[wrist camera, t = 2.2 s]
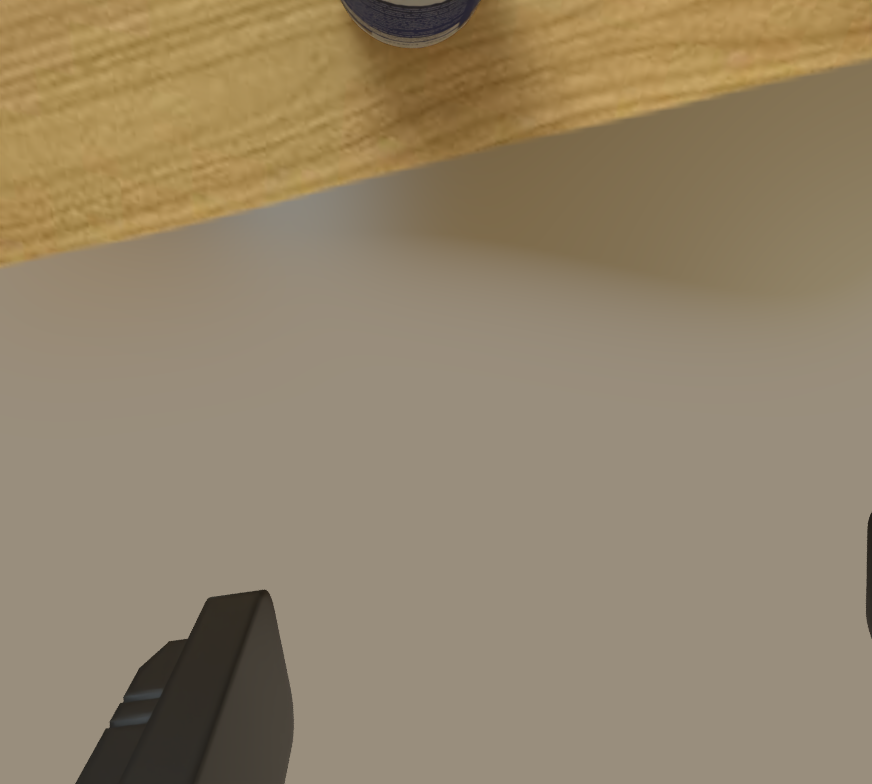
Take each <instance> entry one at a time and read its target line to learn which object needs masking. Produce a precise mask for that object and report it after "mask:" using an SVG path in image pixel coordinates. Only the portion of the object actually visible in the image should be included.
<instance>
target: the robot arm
mask: <svg viewBox="0 0 872 784" xmlns="http://www.w3.org/2000/svg"><path fill="white" fill-rule="evenodd" d="M867 533H868V534H867V589H866V592H867V593H866V617H867V624H868V628H869V632H870V634H871V638H872V513H871V515H870V517H869V521H868V531H867ZM123 698H124V702H123V703H120V704H119V706H118V708H117V710H116V711H115V714H114V715H113V717H112V719H111V720H110V728H107V729H105V731H104V733H103V735H102V737H101V739H100V740H99V742H98V744H97V746H96V747H95V749H94V751H93V753H92V755H91V756H90V758H89V760H88V762H87V764H86V765H85V767H84V769H83V771H82V773H81V775H80V776H79V778H78V780H77V782H76V783H75V784H284V783H285V778H286V773H287V768H288V763H289V757H290V752H291V747H292V742H293V730H294V719H293V718H294V717H293V702H292V694H291V689H290V684H289V679H288V674H287V669H286V664H285V659H284V654H283V650H282V645H281V640H280V635H279V630H278V625H277V620H276V615H275V610H274V606H273V602H272V599H271V596H270V594H269V593H268V591H267V590H259V591H252V592H245V593H238V594H230V595H223V596H216V597H210V598H208V599H207V601H206V602H205V605H204V607H203V609H202V611H201V613H200V615H199V617H198V619H197V621H196V623H195V625H194V627H193V629H192V631H191V633H190V636H189V638H188V639H183V640H176V641H169V642H168V643H167V644H166V645H165V646H164V647H163V648H161V649H160V651H158V652H157V653H156V654H155V655H154V656H153V657H151V658H150V659H149V660H148V661H147V662H146V663H145V664H144V665H143V666H141V667H140V668H139V670H138V672H137V674H136V675H135V677H134V679H133V681H132V683H131V684H130V686H129V688H128V690H127V692H126V693H125V695H124V697H123Z"/></svg>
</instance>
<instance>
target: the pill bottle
mask: <svg viewBox="0 0 872 784" xmlns="http://www.w3.org/2000/svg"><path fill="white" fill-rule="evenodd" d="M480 1H481V0H341V2H342V4H343V6H344V7H345V9H346V11H347V12H348V14H349V15H350V17H351V18H352V19H353V20H354V22H355V23H356V24H357V25H358V26H359V27H360V28H361V29H362V30H364V31H365V32H366V33H368V34H369V35H370V36H372V37H374V38H375V39H377V40H379V41H381V42H383V43H386V44H389V45H393V46H397V47H403V48H422V47H427V46H431V45H434V44H437V43H439V42H441V41H443V40H445V39H447V38H449V37H450V36H452V35H453V34H455V33H456V32H457V31H458V30H460V29H461V28H462V27H463V26H464V25H465V24H466V23H467V21H468V20H469V19H470V17H471V16H472V15H473V13H474V12H475V10H476V8H477V7H478V5H479V3H480Z"/></svg>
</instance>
